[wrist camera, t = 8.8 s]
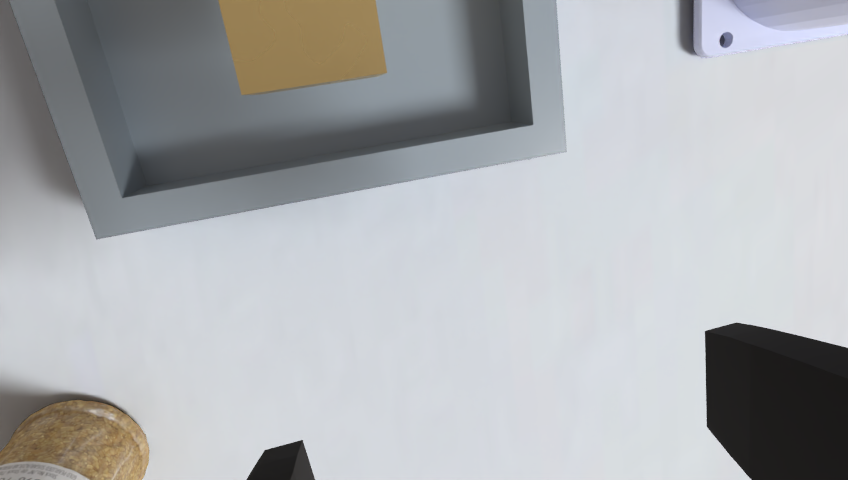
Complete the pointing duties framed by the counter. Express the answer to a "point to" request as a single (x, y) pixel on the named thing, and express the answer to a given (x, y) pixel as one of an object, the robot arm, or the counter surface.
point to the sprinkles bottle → (76, 445)
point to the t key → (302, 42)
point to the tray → (284, 105)
